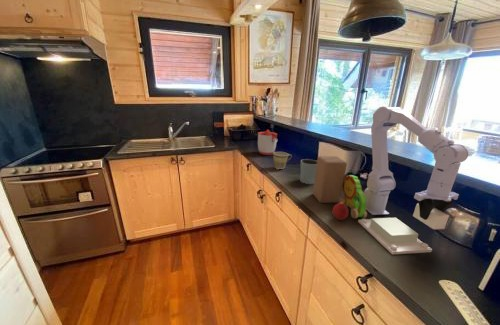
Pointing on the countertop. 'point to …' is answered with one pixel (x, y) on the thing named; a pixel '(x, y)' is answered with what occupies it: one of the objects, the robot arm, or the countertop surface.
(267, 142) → the citrus juicer
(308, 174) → the grey cylindrical container
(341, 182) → the block
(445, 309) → the countertop surface
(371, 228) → the white studded slab
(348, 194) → the toy lion
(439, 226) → the cream brick
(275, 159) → the ceramic cup
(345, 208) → the onion
